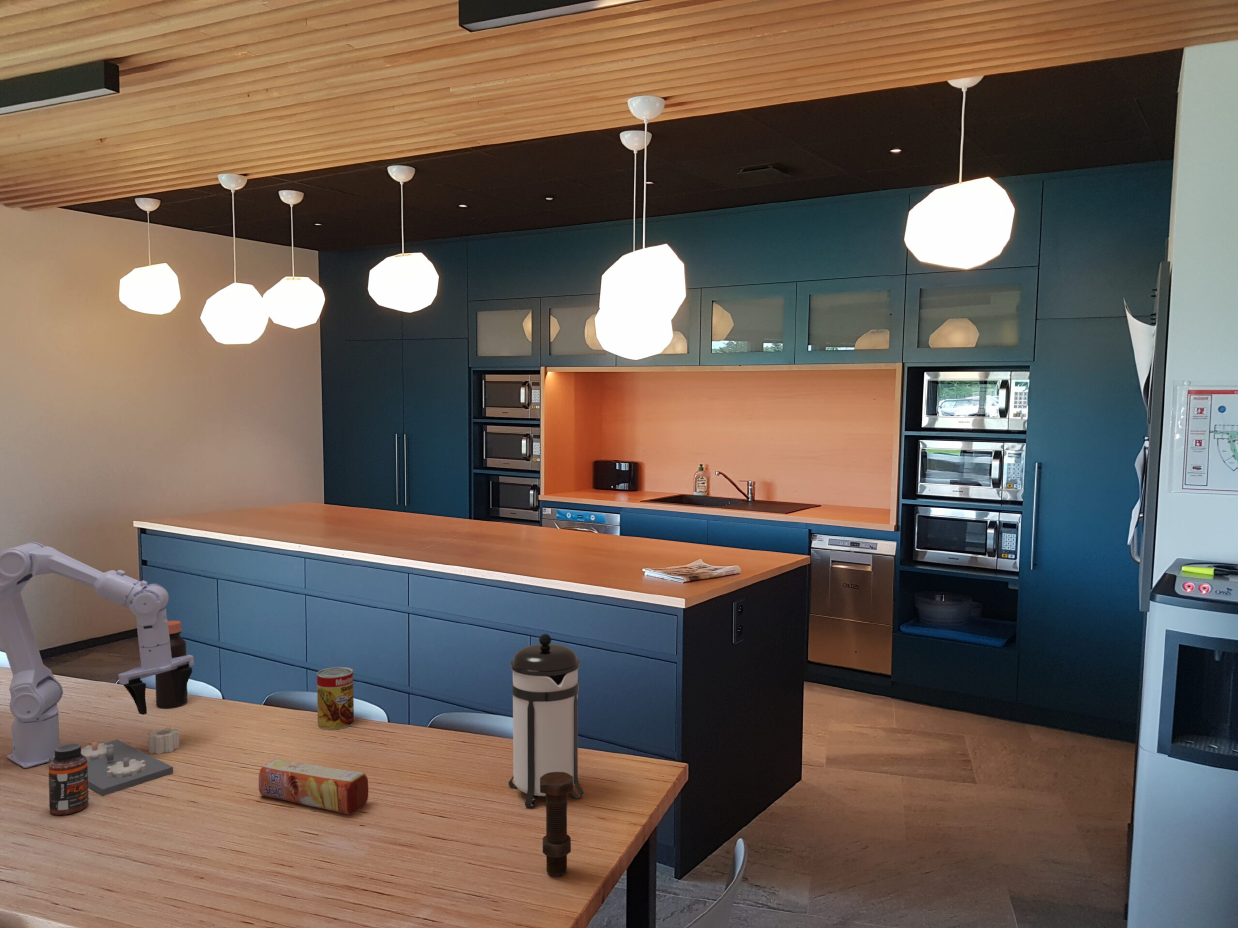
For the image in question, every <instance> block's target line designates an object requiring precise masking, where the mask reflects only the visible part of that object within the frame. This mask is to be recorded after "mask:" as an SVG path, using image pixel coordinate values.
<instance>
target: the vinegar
mask: <svg viewBox="0 0 1238 928" xmlns="http://www.w3.org/2000/svg"><path fill="white" fill-rule="evenodd" d="M168 628H169V637H170V647H171V656H172V658H177V657H182V656H186V655H187V642H186V641H185V639H183V637H181V634H182V622H181V621H179V620H168ZM154 677H155V679H154V680H155V702H156V703H155V704H156V705H155V706H156V707H157V708H160V709H174V708H179V707H182V706H184V705H186V704H187V703H188V700H189V699H188V685H187V686H186V690H185V695H184V702H182V703H179V702H176V700H175V693H174V684H173V680H172V676H171V673H170V671H166V672H163V673H159V674H156V675H154Z"/></svg>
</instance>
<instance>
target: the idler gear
mask: <svg viewBox="0 0 1238 928" xmlns="http://www.w3.org/2000/svg"><path fill="white" fill-rule="evenodd" d="M147 734H148V735H147V739H148V753H149V754H156V755H161V754H163V753H172V752H173V751H174V750H178V749H179V748H180V731H179V728H177V727H175V728H172V727H166V728H158V729H157V728H156V729H154V731H152V732H151V731H150V732H148V733H147Z"/></svg>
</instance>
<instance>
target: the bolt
mask: <svg viewBox="0 0 1238 928" xmlns="http://www.w3.org/2000/svg"><path fill="white" fill-rule="evenodd" d="M573 790H574V786H573V776H571V775H570V774H568V773H565V772H550V773H546V774H544V775H543V776H541V777H540V793H545V796H544V797H545V816H546V817H545V825H546V826H545V827H546V828H545V829H546V831H545V835H544V836H543V837H542V853H543V855H545V857H546V859H545V860H546V861H545V862H546V864H545V865H546V866H545V867H546V871H545V872H546V873H547V874H548V875H549V876H550V877H552V878H555V877H560V876H561V877H562V876H565V875H566V874H567V872H568V871H567V870H568V855H569V854H570V853H571V852H572V843H571V842H572V840H571V839H572V838H571V836H570V835H569V834H568V821H567V820H568V814H567V812H568V794H570V792H573Z"/></svg>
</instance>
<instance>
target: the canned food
mask: <svg viewBox="0 0 1238 928" xmlns="http://www.w3.org/2000/svg"><path fill="white" fill-rule="evenodd" d="M316 687H317V688H316V692H317V695H316V698H317V699H316V700H317V727H318V728H320V729H322V730H327V731H329V730H330V731H334V730H342V729H345V728H348V727H350V726H352V725H353V724H354V722H355V716H354V715H355V712H354V711H355V710H354V708H355V706H354V705H355V702H354V700H355V699H354V670H353V668H350V667H346V666H334V667H327V668H324V669H320V670H318V671H317V672H316Z"/></svg>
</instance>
